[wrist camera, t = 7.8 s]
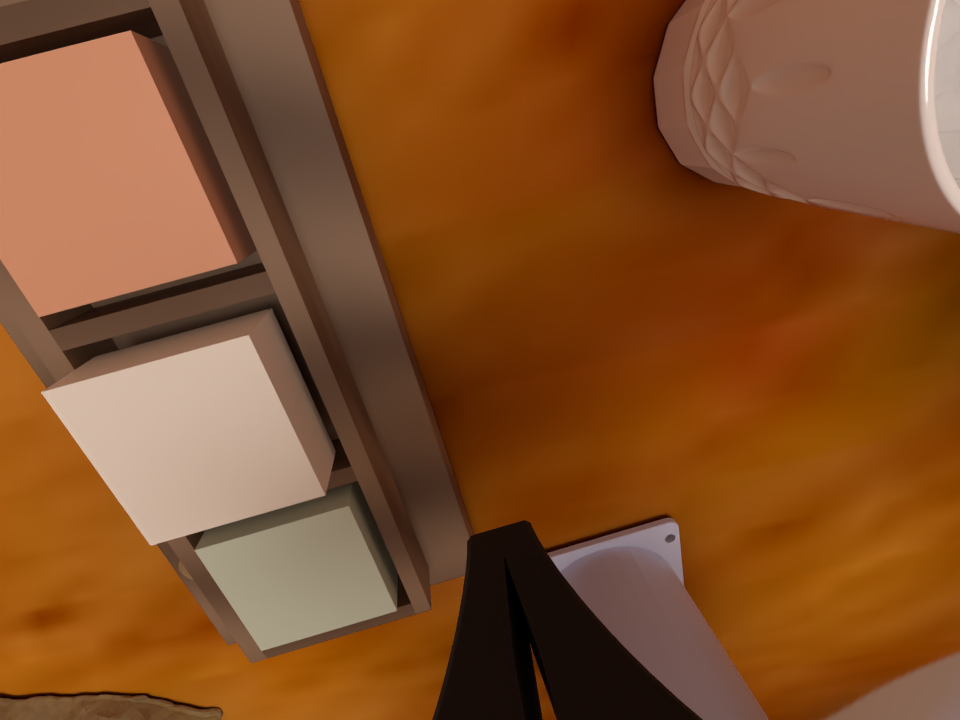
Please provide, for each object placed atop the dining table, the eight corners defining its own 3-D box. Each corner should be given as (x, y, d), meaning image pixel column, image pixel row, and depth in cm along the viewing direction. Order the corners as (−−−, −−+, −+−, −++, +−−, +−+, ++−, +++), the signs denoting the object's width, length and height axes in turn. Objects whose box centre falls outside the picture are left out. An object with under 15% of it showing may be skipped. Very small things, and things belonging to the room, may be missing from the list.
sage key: (398, 563, 19) (396, 610, 17) (276, 599, 19) (261, 651, 17) (355, 465, 17) (348, 505, 15) (219, 504, 17) (194, 550, 15)
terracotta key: (261, 247, 14) (237, 263, 12) (91, 293, 14) (38, 317, 12) (176, 50, 12) (130, 30, 10) (-24, 102, 12) (-112, 92, 10)
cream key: (335, 451, 16) (325, 495, 14) (183, 494, 15) (150, 545, 14) (271, 308, 14) (248, 334, 12) (95, 356, 13) (40, 392, 11)
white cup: (592, 142, 16) (821, 130, 7) (720, -132, 14) (1297, -654, 5) (766, 232, 19) (1109, 309, 10) (903, 8, 16) (1540, -175, 7)
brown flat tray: (474, 536, 23) (487, 611, 19) (242, 605, 22) (210, 693, 19) (283, -44, 13) (237, -117, 10) (-114, 57, 13) (-315, 20, 9)
